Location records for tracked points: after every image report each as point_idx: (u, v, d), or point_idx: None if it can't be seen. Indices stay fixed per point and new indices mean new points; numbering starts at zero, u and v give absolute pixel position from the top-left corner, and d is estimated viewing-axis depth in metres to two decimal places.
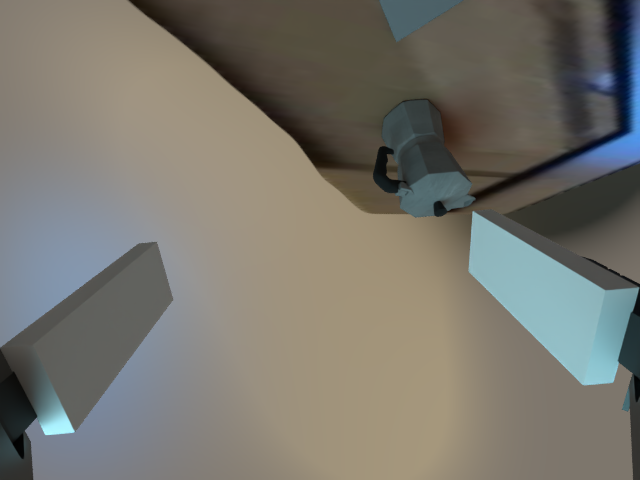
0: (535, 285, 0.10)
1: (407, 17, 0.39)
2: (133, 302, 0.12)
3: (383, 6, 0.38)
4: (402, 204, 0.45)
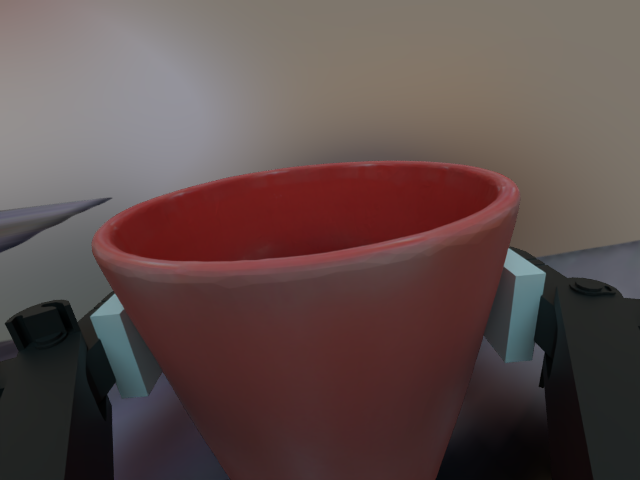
0: None
1: None
2: None
3: None
4: None
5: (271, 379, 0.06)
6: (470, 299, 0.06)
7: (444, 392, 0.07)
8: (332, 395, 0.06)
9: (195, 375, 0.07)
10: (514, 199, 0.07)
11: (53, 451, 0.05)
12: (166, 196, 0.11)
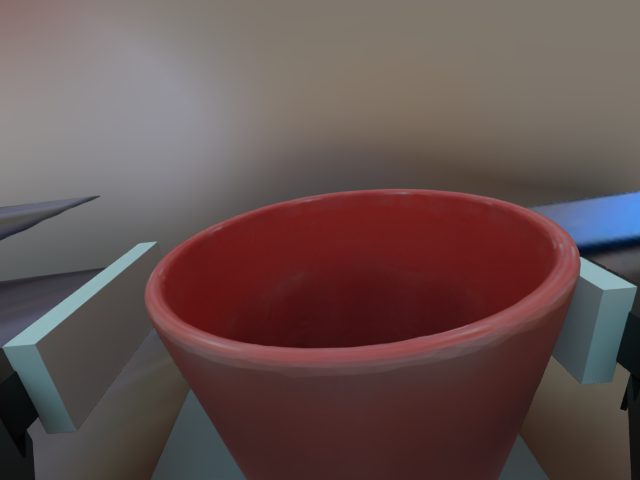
0: None
1: None
2: (134, 302, 0.12)
3: None
4: None
5: (327, 454, 0.06)
6: (530, 373, 0.06)
7: (496, 457, 0.07)
8: (387, 470, 0.06)
9: (248, 439, 0.07)
10: (576, 267, 0.06)
11: None
12: (206, 232, 0.11)
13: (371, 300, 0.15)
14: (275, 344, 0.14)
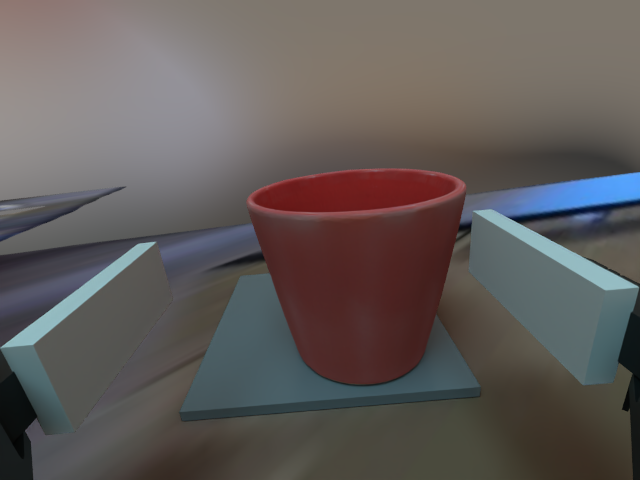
0: (535, 285, 0.10)
1: (429, 360, 0.19)
2: (133, 302, 0.12)
3: (387, 391, 0.17)
4: None
5: (275, 257, 0.15)
6: (352, 251, 0.13)
7: (351, 301, 0.14)
8: (292, 272, 0.15)
9: (262, 251, 0.17)
10: (393, 210, 0.12)
11: None
12: (304, 177, 0.22)
13: None
14: None
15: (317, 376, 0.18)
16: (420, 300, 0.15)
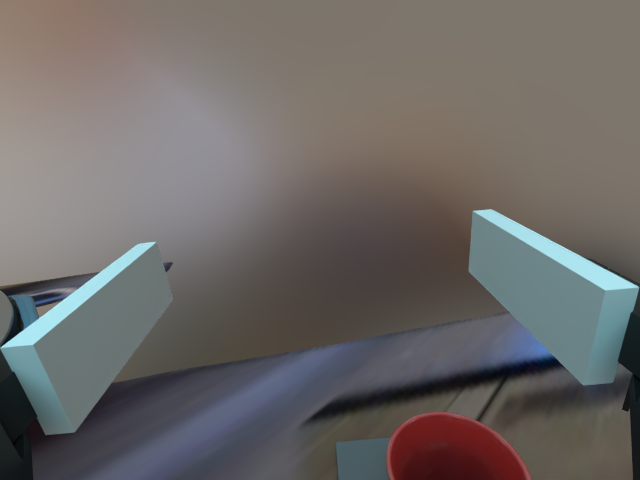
0: (535, 285, 0.10)
1: None
2: (133, 302, 0.12)
3: None
4: None
5: None
6: None
7: None
8: None
9: None
10: None
11: None
12: (408, 422, 0.31)
13: (478, 472, 0.31)
14: (425, 466, 0.33)
15: None
16: None
